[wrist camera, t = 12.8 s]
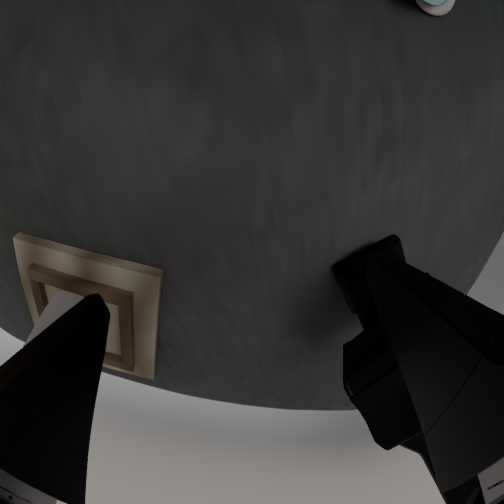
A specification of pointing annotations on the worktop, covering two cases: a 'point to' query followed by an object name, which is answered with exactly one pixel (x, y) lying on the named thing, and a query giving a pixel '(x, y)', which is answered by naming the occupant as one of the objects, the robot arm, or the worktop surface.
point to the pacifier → (444, 5)
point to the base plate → (104, 283)
